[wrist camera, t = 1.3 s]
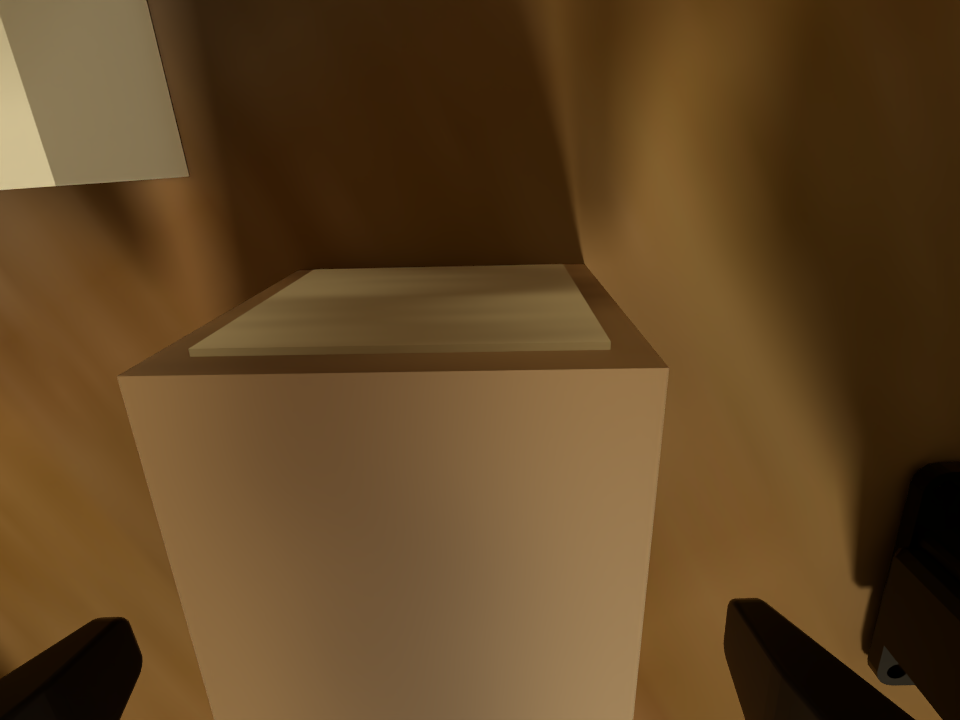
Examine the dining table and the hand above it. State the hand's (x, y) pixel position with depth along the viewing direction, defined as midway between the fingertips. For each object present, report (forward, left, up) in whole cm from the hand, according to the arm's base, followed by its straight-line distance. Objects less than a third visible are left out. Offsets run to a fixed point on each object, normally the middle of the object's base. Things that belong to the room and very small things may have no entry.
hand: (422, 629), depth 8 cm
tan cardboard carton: (0, 0, -5) cm, 5 cm away
